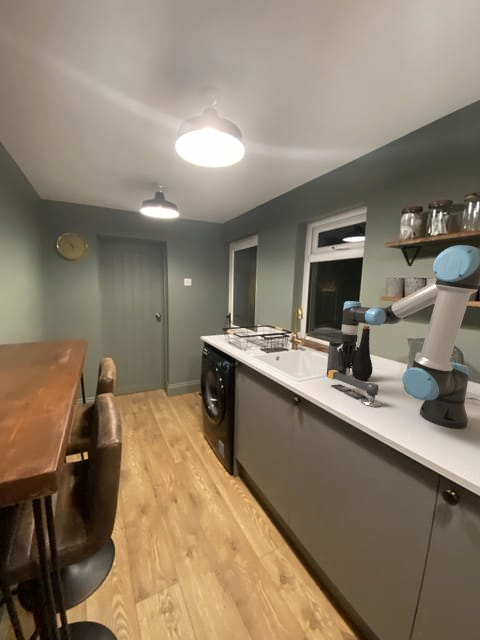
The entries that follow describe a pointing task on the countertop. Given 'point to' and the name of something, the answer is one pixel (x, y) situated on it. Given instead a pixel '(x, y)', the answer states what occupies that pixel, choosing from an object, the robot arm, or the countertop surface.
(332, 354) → the electronic device
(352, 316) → the robot arm
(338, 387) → the psu label
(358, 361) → the bottle
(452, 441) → the countertop surface
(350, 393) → the power supply label
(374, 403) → the pivot post
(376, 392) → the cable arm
